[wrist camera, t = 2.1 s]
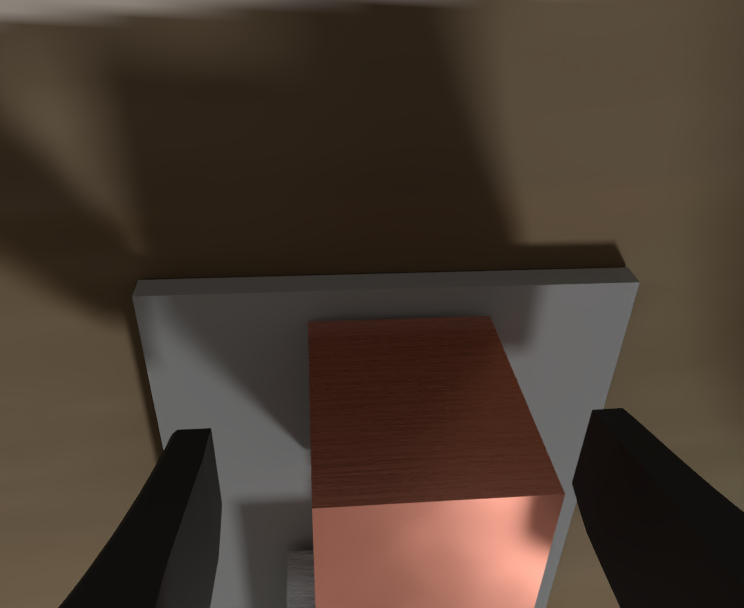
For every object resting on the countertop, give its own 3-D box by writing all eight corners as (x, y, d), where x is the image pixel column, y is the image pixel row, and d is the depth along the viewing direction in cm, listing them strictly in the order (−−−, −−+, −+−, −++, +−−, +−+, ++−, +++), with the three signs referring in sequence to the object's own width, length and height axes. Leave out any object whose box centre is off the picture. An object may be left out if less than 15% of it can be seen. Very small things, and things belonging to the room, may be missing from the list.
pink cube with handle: (465, 637, 20) (504, 819, 16) (294, 650, 19) (293, 841, 15) (524, 315, 13) (612, 491, 10) (271, 322, 13) (260, 511, 9)
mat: (512, 687, 23) (517, 705, 23) (222, 711, 22) (221, 730, 22) (627, 267, 14) (640, 282, 14) (138, 280, 13) (131, 296, 13)
